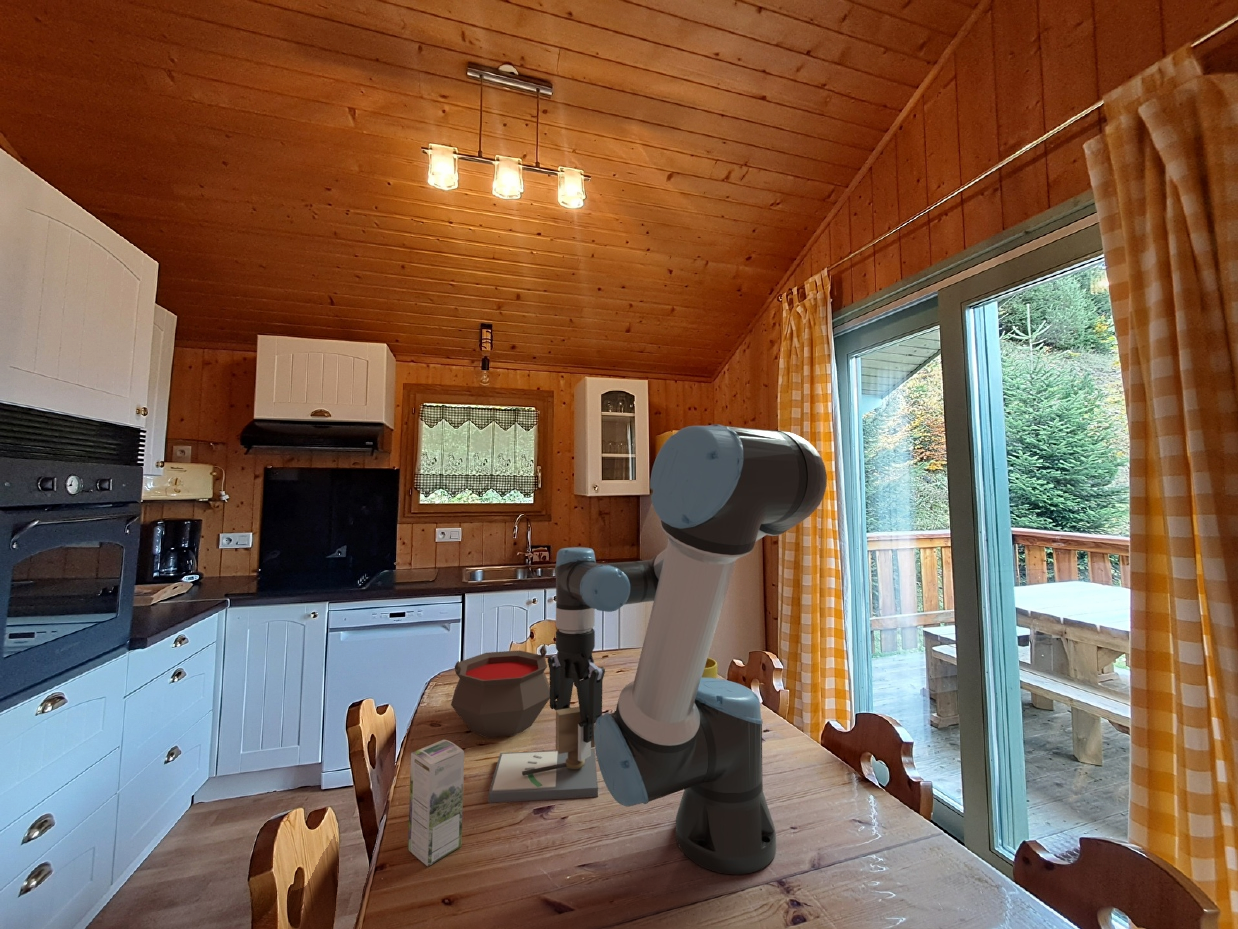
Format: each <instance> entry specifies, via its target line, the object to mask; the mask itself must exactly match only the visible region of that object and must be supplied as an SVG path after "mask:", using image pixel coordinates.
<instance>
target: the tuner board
mask: <svg viewBox="0 0 1238 929" xmlns="http://www.w3.org/2000/svg"><path fill="white" fill-rule="evenodd" d="M567 758H568V752H567V753H562V754H559V753H558V752H557V750H556V749H555V750H536V751H520V752H519V751H517V752H500V753H499V756H498V759H497V762H496V763H497V764H496V766H495V770H494V773H493V776H492V777H493V778H492V780H491V784H490V787H489V791H488V797H487V798H488V803H489V804H492V803H493V804H494V803H506V802H507V803H509V802H524V801H528V802H529V801H543V800H544V801H545V800H558V799H559V800H561V799H563V800H564V799H577V798H578V799H579V798H582V799H583V798H595V797H597V798H598V797H599V784H598V773H597V772H598V771H597V762H596V759H597V758H596V750H595V748H591V756H590V757H588V758H586V759H585V764H584V766H583V767H581V768H579V769H570V768H568V767H563V768H558V769H553V770H548V771H543V772H538V773H534V774H529V775H524V776H523V775H522V771H527V770H532V769H537V768H542V767H547V766H552V765H557V764H562V763H566V759H567Z"/></svg>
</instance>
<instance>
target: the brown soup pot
mask: <svg viewBox="0 0 1238 929" xmlns="http://www.w3.org/2000/svg"><path fill="white" fill-rule="evenodd" d="M546 648H547V647H546V646H545V645H544V644H543V645H542V646H541V647H540V649H539V653H540V654H539V653H538V654H537V653H533V652H528V651H525V650H520V649H519V650H508V651H507V650H506V651H495V652H494V651H493V652H492V651H491V652H489V651H488V652H484V653H481V654H479V655H475V656H472V657H469V658H467V659H463V660H461V661H457V662H456V663H455V665H454V671H455V674H456V676H457V677H458V678H459V679H458V681H457V683H456V686H455V689H454V692H453V696H452V699H451V703H450V707H452V709H454V711H455V712H456V713H457V714H458V716H459V717H460V719H461V720H462V721H463V722H464V724H465V725H466V726H467V728H468V729H469V730H470V732H471V733H474V734H477V735H480V736H481V737H485V738H487V739H494V738H505V737H513V736H516V735H518V734H520V733H522V732H523V731H525V730H527V729H529V728H531V727H532V725H534V723H535V721H536V720H537V718H538V717H539V715H540V714H541V712H542V711H543V709H544V707H545V706H546V705H547V703H548V701H550V682H549V681H548V678H547V675H546V674H545V671H546V669H547V668H548V664H547V660H546V654H547V652H548V651H547V649H546Z"/></svg>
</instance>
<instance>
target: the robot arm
mask: <svg viewBox="0 0 1238 929" xmlns="http://www.w3.org/2000/svg"><path fill="white" fill-rule="evenodd" d="M827 483H828V473H827V470H826V465H825V463H824V461H823V458H822V456H821V455H820V453H819V451H818V450H817V449H816V448H815V447H814V446H813V445H812V444H811V443H810V441H807V440H806V439H805V438H803V437H802V436H799V435H797V434H795V433H792V432H789V431H783V430H774V429H773V430H770V429H768V430H767V429H757V428H747V427H739V426H738V427H736V426H728V425H727V426H726V425H722V424H710V425H691V426H690V425H689V426H685V427H683V428H681V429H680V430H677V432H676V433H673V434H672V435H671V436H669V437H668V438H667V439H666V440H665V442H664V443H663V444H662V446H661V447H660V449H659V451H658V453H657V454H656V458H655V460H654V463H653V466H652V469H651V474H650V482H649V484H650V485H649V486H650V487H649V488H650V490H652V494H651V495H650V499H651V500H650V501H651V504H652V507H653V510H654V512H655V514H656V516H658V518H659V519H660V528H661V530H662V531H663V533H664V534H665V536H666V537H667V539H668V542H667V546H666V547H665V549H664V550H662V551H661V552H659V553H658V554H657V555H655V556H654V557H653V558H652V559H647V560H646V559H645V560H637V561H636V560H635V561H623V562H609V563H608V562H607V563H598V562H597V561H596V555H595V551H594V550H593V548H589V547H578V546H577V547H574V546H573V547H565V548H560V549H558V551H557V552H556V559H555V561H556V563H555V566H554V568H555V627H556V631H555V650H556V651H558V653H557V654H555V655H552V656H548V657H547V660H546V661H547V663H548V664H547V666H548V669H549V688H550V699H549V708H550V709H551V710H554V711H556V710H560V709H567V708H572V707H571V701H572V695H573V690H574V689H573V688H574V687H576V692H577V693H576V694H577V701H578V707H579V709H580V716H581V722H580V723H579V724H578V761H583V760H585V759H586V758H588V757H590V756H591V749H592V748H591V741H592V740H593V724H594V723H595V727H594V743H595V747H594V749H595V757H596V759H597V764H598V767H599V770H600V773H601V776H602V779H603V781H604V784H605V786H606V788H607V790H608V792H609V793H610V795H611V797H612V798H613V800H615V802H616V803H618V804H620V805H621V806H623V807H626V808H629V807H633V806H636V805H637V806H638V805H640V804H644V805H647V804H649V802H652V801H656V800H657V799H661V798H663V797H666V796H669V795H672V794H675V793H678V792H681V791H683V793H682V795H681V796H682V797H681V799H680V803H679V806H678V809H677V813H676V817H675V839H676V843H677V845H678V847H679V848H680V850H681V851H682V853H683V854H684V855H685V856H686V857H687V858H688V859H689V860H691V861H692V862H693V863H694V864H696V865H698V866H700V867H702V868H704V869H706V870H709V871H712V872H715V873H719V874H727V875H747V874H752V873H754V872H755V873H756V872H758V871H760V870H762V869H764V868H765V867H767V866H768V865H770V863H771V862H772V861H773V860H774V858H775V856H776V852H777V835H776V833H777V832H776V826H775V824H774V821H773V818H772V815H771V811H770V809H769V805H768V802H767V800H766V797H765V794H764V788H763V787H764V786H763V783H764V782H763V724H764V723H763V722H764V721H763V719H762V712H761V710H762V709H761V701H760V698H759V697H758V695H757V694H756V693H755V691H753V690H752V689H750V688H748V687H747V686H745V685H742V684H741V683H738V682H734V681H731V680H726V679H722V678H717V677H716V678H702V675H703V671H704V668H705V664H706V661H707V658H709V654H710V651H711V647H712V643H713V640H714V637H715V633H716V630H717V626H718V624H719V619H720V617H721V613H722V610H723V606H724V602H725V600H726V597H727V592H728V590H729V586H730V584H731V583H730V582H731V579H732V575H733V572H734V570H735V566H736V562H737V560H738V559H740V558H743V557H745V556H748V555H750V554H751V553H752V552H753V551H754V547H755V544H756V542H757V541H759V540H761V539H762V538H763V537H765V536H771V537H774V536H780V535H782V534H784V533H786V532H787V531H789V530H790V529H792V528H794V527H796V526H798V524H800V523H802V522H803V521H805V520H807V518H808V517H810V516H811V515H813V514H814V512H815V511H816V510H817V509H818V507H819V506H820V505H821V503H822V502H823V499H824V497H825V493H826V490H827V486H828V485H827ZM648 602H653V603H652V606H651V611H650V616H649V620H648V623H647V628H646V630H645V635H644V639H643V643H642V648H641V651H640V652H641V653H640V655H639V659H638V660H639V661H638V664H637V667H636V673H635V676H634V680H632V681H631V682H629V683H628V684H626V685H625V686H624V687H623V689H622V690H621V691H620V693H619V696H618V700H617V704H616V709H615V711H614V712H611V713H610V712H605V713H604V714H603V680H604V677H605V673H606V668H605V667H604V666H601V667H598V666H597V665H596V664H595V661H594V658H593V651H594V649H595V646H596V641H595V640H596V634H595V632H596V630H595V629H594V627H595V624H596V623H595V615H596V614H595V612H596V610H597V611H600V612H605V613H606V612H607V613H609V612H610V613H611V612H614V611H618V610H619V609H621V608H622V607H623V606H625V605H632V604H641V603H648Z"/></svg>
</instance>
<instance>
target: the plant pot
mask: <svg viewBox="0 0 1238 929" xmlns="http://www.w3.org/2000/svg"><path fill="white" fill-rule="evenodd" d="M717 677H718V662H717V661H716V660H715V659H713V658H711V657H708V658H707V661H706V664H705V668H704V671H703V675H702V678H716V679H717Z"/></svg>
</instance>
